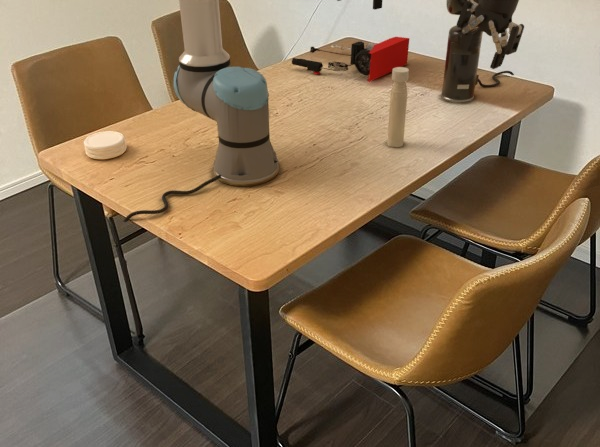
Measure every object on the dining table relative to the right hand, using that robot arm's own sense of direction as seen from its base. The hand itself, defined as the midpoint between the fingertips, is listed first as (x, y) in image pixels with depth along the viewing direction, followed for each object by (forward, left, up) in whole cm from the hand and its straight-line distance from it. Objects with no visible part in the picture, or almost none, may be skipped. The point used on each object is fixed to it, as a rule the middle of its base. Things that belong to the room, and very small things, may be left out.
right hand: (478, 58), depth 133 cm
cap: (-2, -19, -7) cm, 20 cm away
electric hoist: (-47, -61, -26) cm, 81 cm away
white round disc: (+43, -77, -26) cm, 91 cm away
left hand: (-20, -42, +2) cm, 46 cm away
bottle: (-2, -19, -26) cm, 32 cm away
